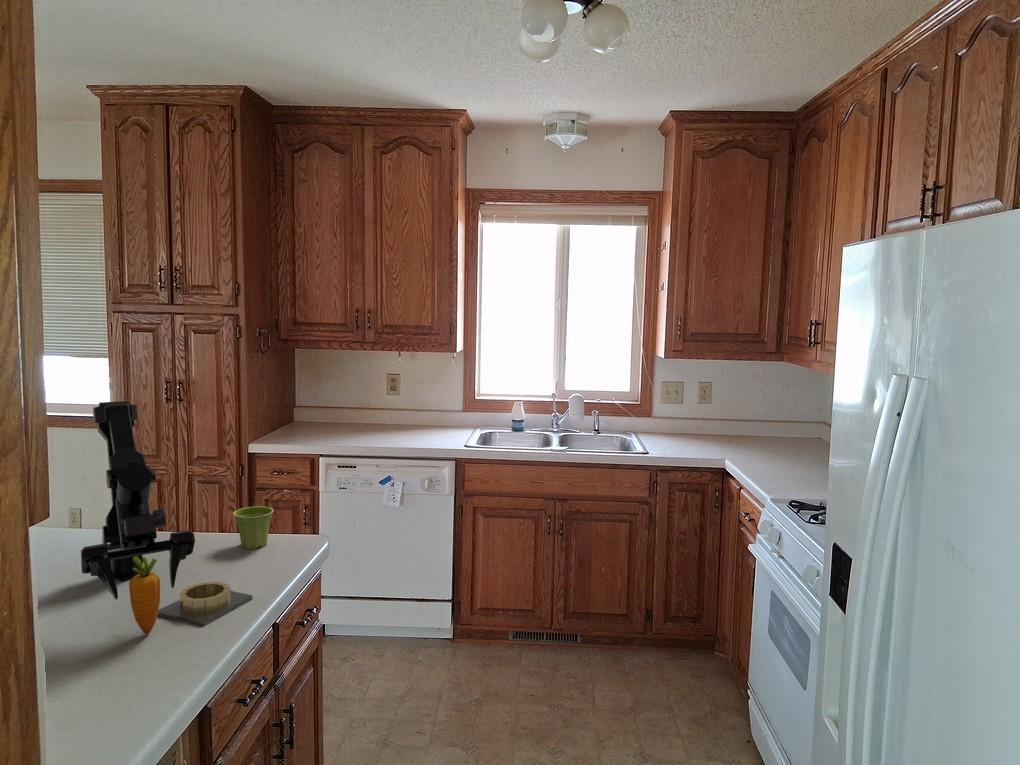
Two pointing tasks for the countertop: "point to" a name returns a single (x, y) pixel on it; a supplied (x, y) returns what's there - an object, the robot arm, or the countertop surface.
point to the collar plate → (204, 616)
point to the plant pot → (253, 525)
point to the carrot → (145, 594)
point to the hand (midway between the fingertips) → (145, 592)
